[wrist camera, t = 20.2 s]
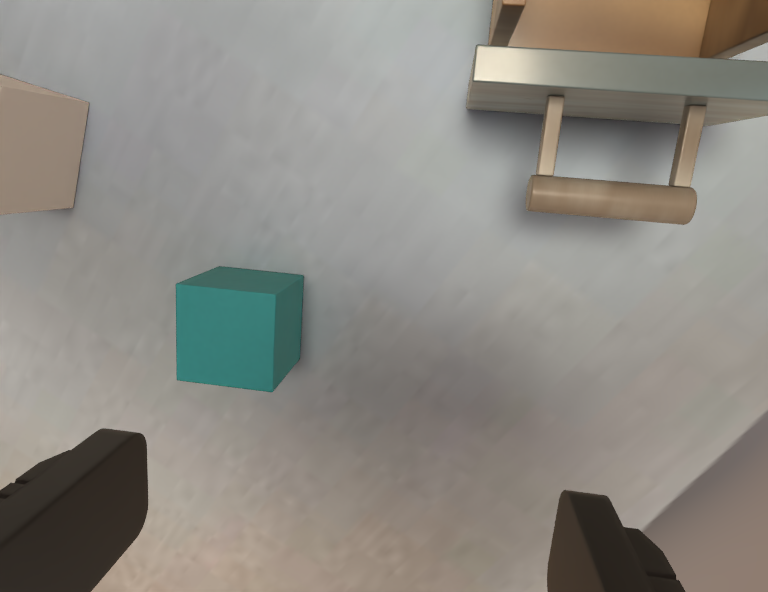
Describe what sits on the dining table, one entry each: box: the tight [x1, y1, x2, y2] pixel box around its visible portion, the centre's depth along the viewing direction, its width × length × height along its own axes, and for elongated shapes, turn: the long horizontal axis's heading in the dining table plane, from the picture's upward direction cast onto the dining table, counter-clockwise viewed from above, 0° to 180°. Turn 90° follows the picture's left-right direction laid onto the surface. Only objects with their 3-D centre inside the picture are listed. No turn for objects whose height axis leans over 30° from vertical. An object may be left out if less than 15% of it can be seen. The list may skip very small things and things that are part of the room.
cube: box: [176, 266, 304, 392], centre depth 29 cm, size 5×5×5 cm
